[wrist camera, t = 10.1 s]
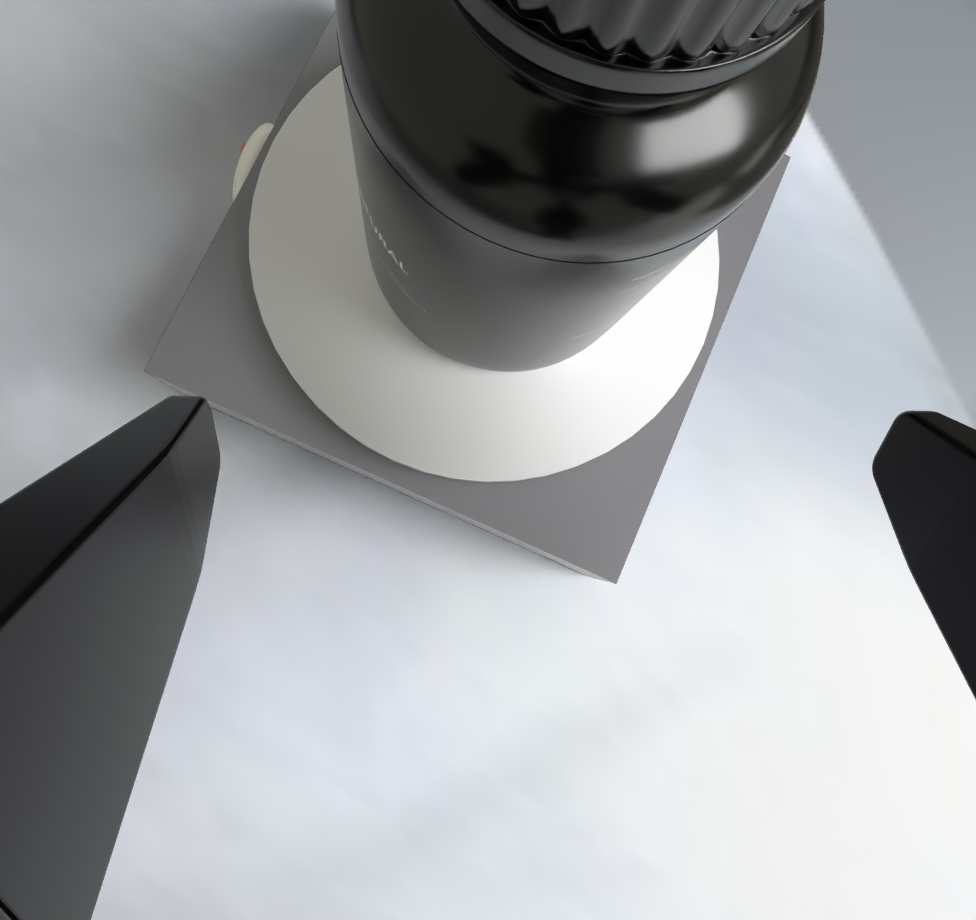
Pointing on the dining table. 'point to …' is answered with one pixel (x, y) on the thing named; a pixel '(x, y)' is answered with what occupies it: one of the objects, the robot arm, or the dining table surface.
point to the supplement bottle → (558, 153)
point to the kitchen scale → (435, 354)
